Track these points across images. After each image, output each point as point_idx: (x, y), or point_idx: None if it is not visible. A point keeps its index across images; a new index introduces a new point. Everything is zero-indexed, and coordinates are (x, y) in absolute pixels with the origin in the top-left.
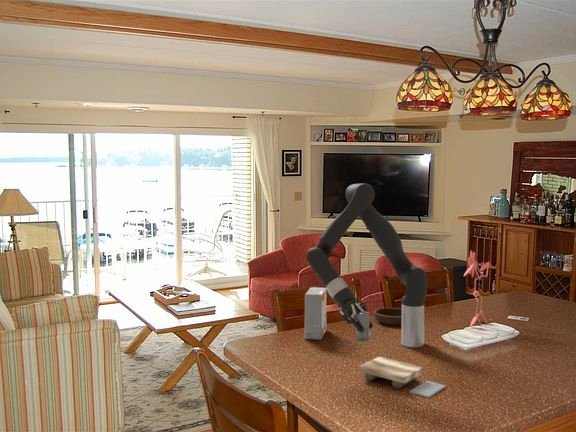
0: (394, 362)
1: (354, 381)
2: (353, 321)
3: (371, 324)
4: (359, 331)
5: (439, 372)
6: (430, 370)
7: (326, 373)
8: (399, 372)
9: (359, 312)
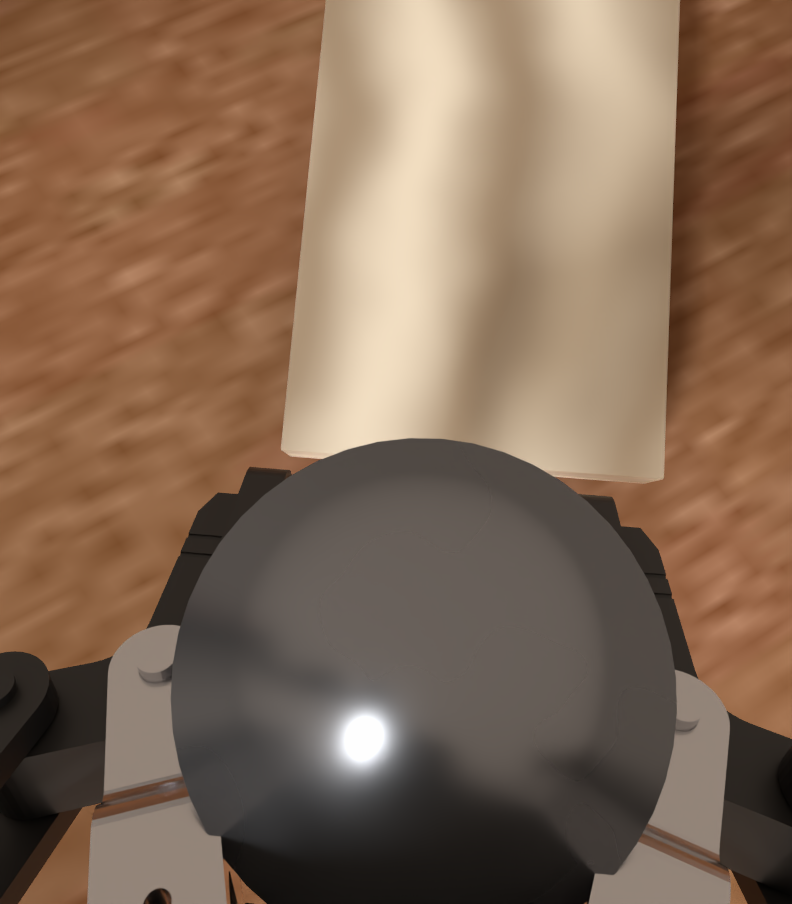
0: (363, 239)
1: (684, 501)
2: (787, 738)
3: (268, 487)
4: None
5: (89, 42)
6: (84, 114)
7: None
8: (584, 81)
9: (435, 818)
